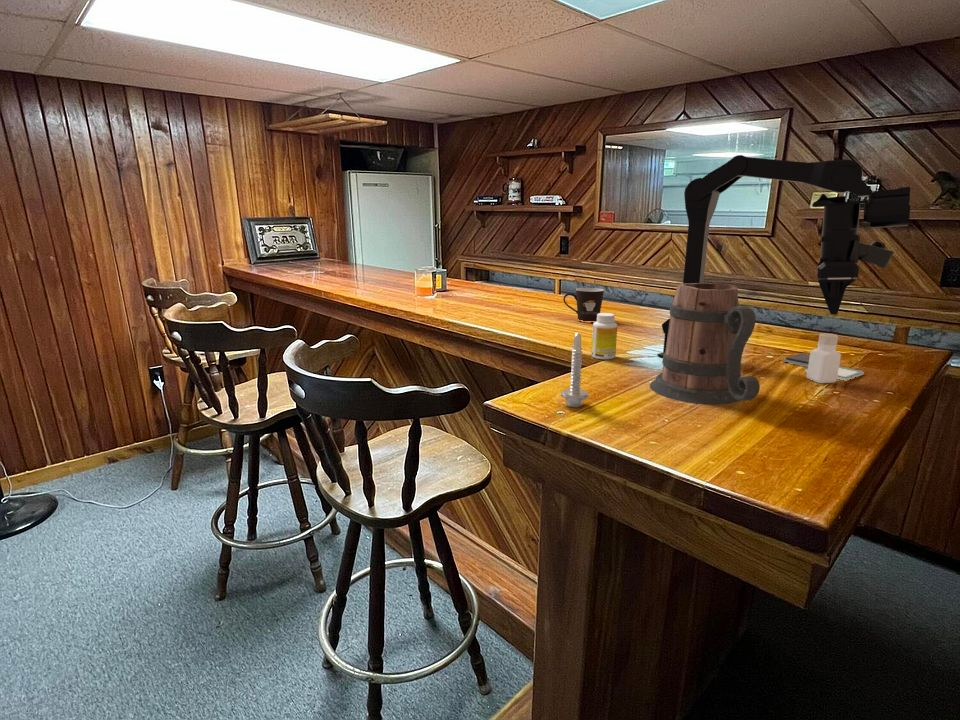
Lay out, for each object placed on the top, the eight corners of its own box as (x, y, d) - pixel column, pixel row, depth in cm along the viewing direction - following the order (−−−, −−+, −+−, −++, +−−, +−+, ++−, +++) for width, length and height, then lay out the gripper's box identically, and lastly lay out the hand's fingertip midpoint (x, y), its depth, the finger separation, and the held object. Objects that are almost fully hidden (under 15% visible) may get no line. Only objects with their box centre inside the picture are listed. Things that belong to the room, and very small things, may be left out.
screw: (580, 399, 96) (593, 408, 92) (555, 401, 95) (567, 411, 91) (584, 329, 93) (597, 334, 88) (558, 330, 92) (571, 336, 87)
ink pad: (815, 369, 115) (816, 364, 115) (782, 362, 121) (783, 357, 120) (832, 363, 120) (833, 358, 119) (800, 357, 125) (800, 352, 125)
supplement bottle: (620, 359, 124) (623, 315, 121) (599, 361, 122) (602, 317, 119) (606, 353, 129) (609, 311, 126) (586, 355, 127) (589, 313, 124)
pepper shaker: (837, 383, 106) (846, 336, 103) (819, 384, 105) (827, 337, 102) (821, 377, 109) (829, 332, 107) (804, 378, 109) (812, 333, 106)
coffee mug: (606, 320, 169) (607, 289, 167) (596, 324, 162) (598, 292, 160) (571, 316, 175) (573, 286, 173) (561, 321, 168) (562, 289, 166)
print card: (846, 381, 107) (846, 377, 107) (804, 371, 113) (804, 368, 113) (863, 374, 111) (863, 371, 111) (821, 366, 118) (822, 363, 118)
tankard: (633, 379, 108) (641, 281, 103) (707, 374, 112) (718, 278, 106) (704, 421, 86) (718, 298, 81) (793, 413, 89) (813, 295, 84)
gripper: (898, 227, 90) (889, 319, 93) (887, 226, 105) (880, 305, 108) (820, 231, 96) (814, 318, 99) (820, 230, 111) (815, 304, 114)
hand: (833, 311), depth 105 cm, fingers open, 9 cm apart
